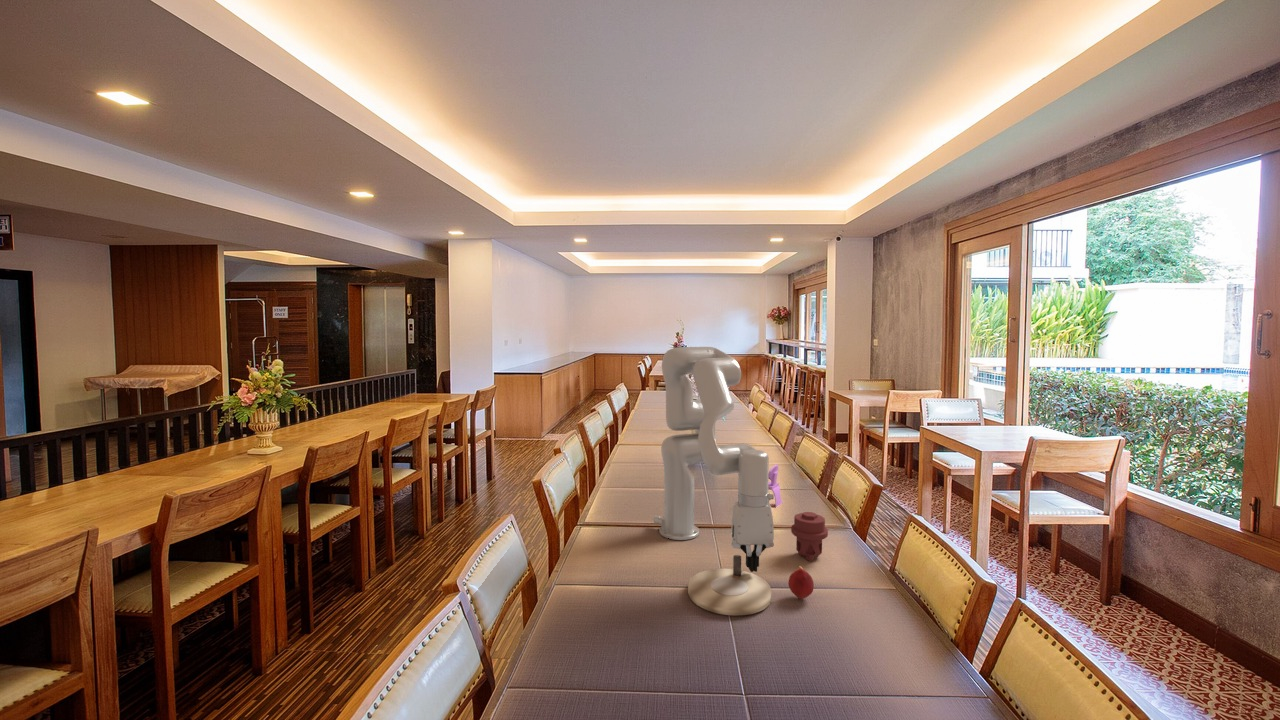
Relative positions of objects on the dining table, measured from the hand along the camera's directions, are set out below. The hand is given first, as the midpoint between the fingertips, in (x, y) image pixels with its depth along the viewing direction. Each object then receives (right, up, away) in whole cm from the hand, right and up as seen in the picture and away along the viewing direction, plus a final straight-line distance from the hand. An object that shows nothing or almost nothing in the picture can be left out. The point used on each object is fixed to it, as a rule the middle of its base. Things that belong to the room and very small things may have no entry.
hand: (752, 569), depth 136 cm
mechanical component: (+20, -3, +16) cm, 26 cm away
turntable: (-7, -4, -6) cm, 10 cm away
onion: (+10, -4, -8) cm, 13 cm away
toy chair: (+19, 0, +63) cm, 66 cm away
